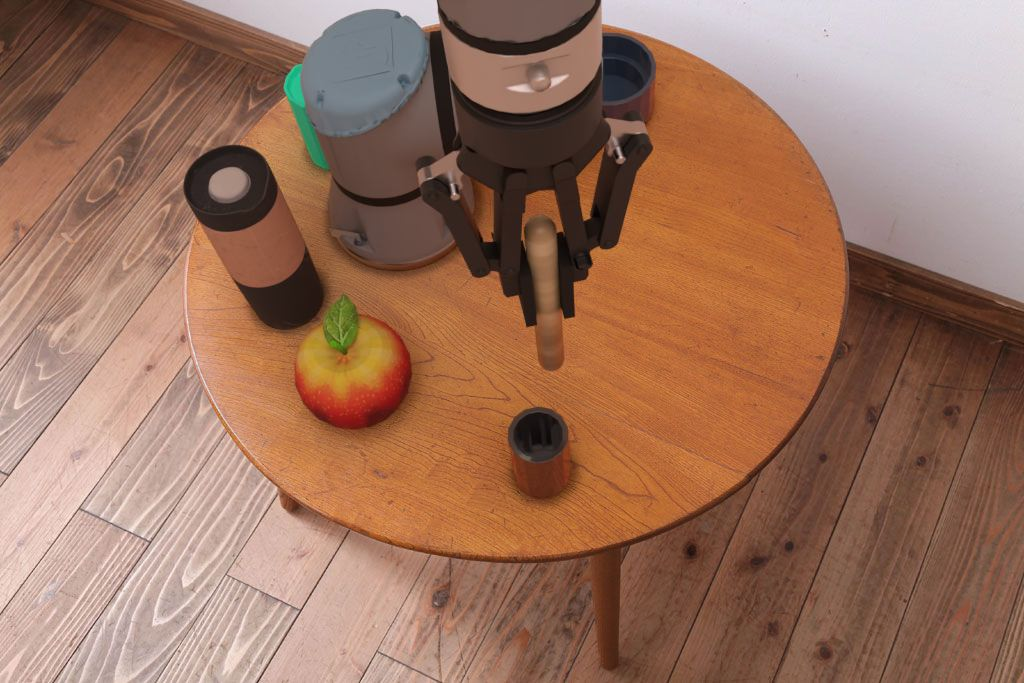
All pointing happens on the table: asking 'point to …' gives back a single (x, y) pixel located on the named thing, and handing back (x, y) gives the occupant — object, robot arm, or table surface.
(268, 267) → the travel mug
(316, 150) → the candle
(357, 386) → the fruit
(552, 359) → the stick
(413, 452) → the table surface
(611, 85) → the bowl
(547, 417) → the holder
